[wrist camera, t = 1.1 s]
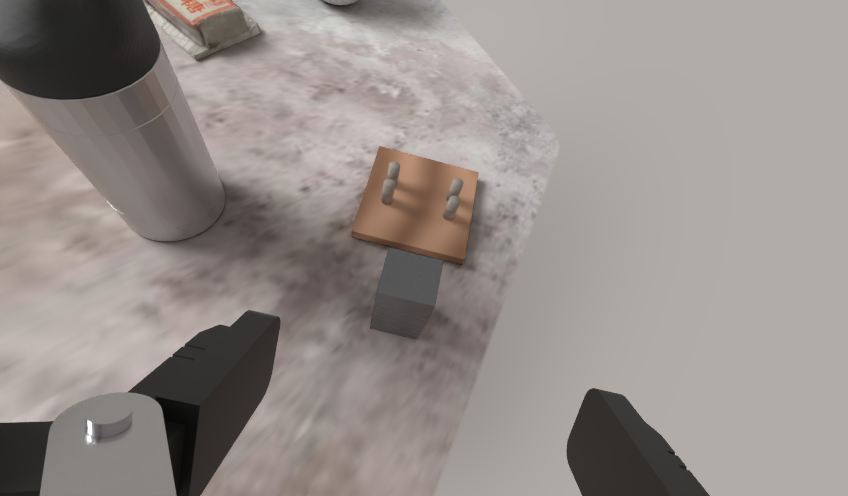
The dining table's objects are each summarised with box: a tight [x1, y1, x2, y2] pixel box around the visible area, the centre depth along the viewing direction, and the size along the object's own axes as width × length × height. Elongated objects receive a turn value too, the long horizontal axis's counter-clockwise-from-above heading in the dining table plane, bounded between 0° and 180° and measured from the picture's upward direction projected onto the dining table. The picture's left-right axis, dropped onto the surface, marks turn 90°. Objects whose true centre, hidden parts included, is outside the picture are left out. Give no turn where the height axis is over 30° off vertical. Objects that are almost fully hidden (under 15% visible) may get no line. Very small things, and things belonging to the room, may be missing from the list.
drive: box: [370, 247, 443, 339], centre depth 36 cm, size 4×4×9 cm
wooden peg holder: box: [352, 146, 478, 265], centre depth 44 cm, size 12×12×4 cm
